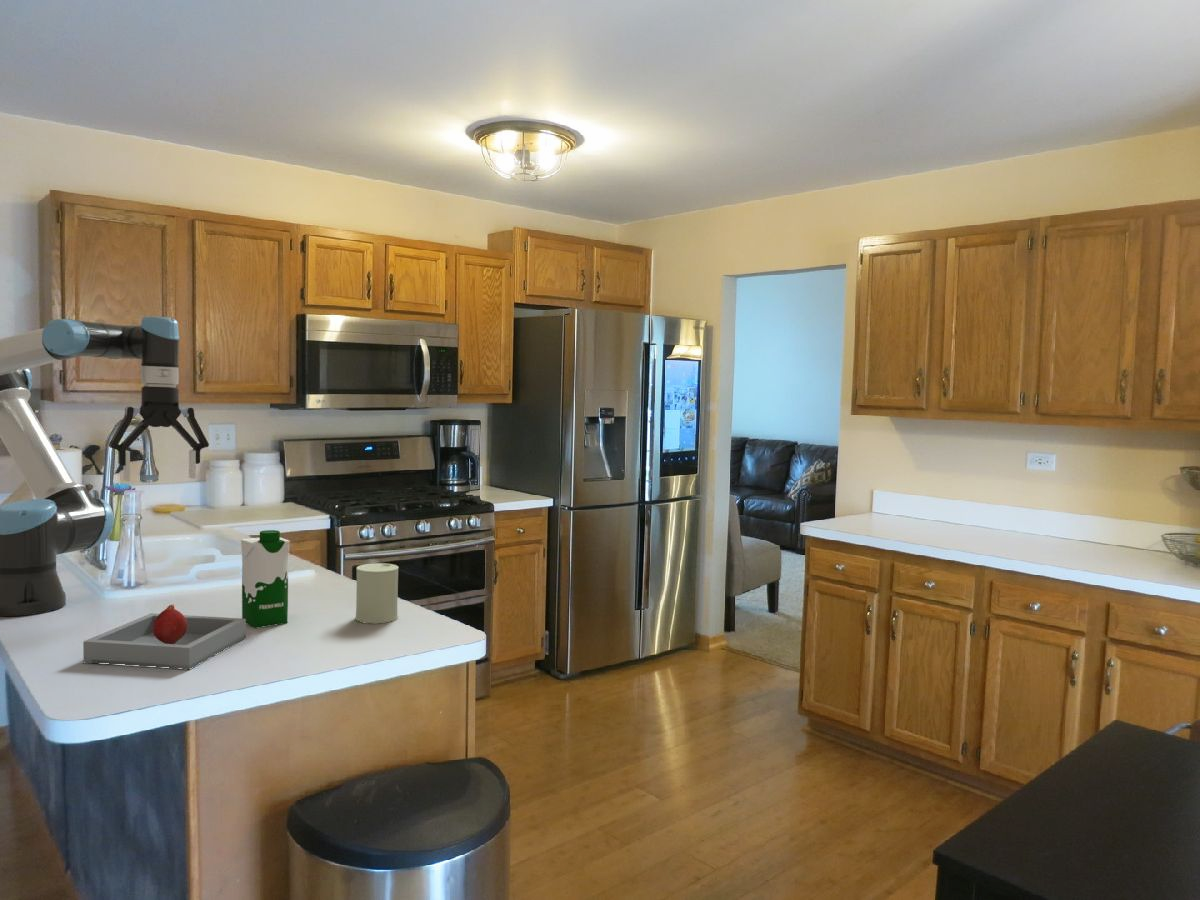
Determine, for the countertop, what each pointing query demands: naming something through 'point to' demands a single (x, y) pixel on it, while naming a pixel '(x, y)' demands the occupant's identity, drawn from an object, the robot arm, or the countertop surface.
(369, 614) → the can
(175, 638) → the onion
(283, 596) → the milk carton
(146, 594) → the countertop surface
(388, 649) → the countertop surface
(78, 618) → the countertop surface
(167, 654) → the tray
